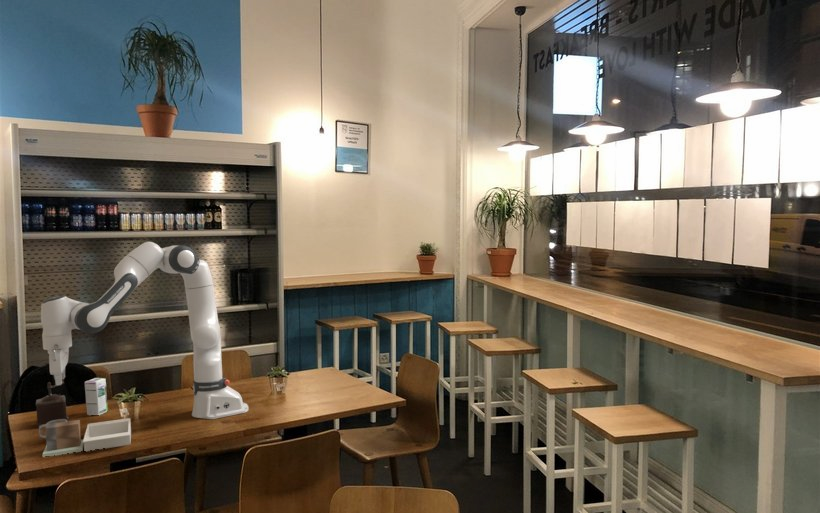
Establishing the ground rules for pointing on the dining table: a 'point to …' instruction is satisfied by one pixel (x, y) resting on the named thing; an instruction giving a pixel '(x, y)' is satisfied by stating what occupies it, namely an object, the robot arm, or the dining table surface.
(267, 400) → the dining table surface
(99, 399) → the syrup box
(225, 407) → the robot arm
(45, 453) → the green board
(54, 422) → the mug
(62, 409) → the pepper mill
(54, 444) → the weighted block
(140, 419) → the dining table surface
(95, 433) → the tray
